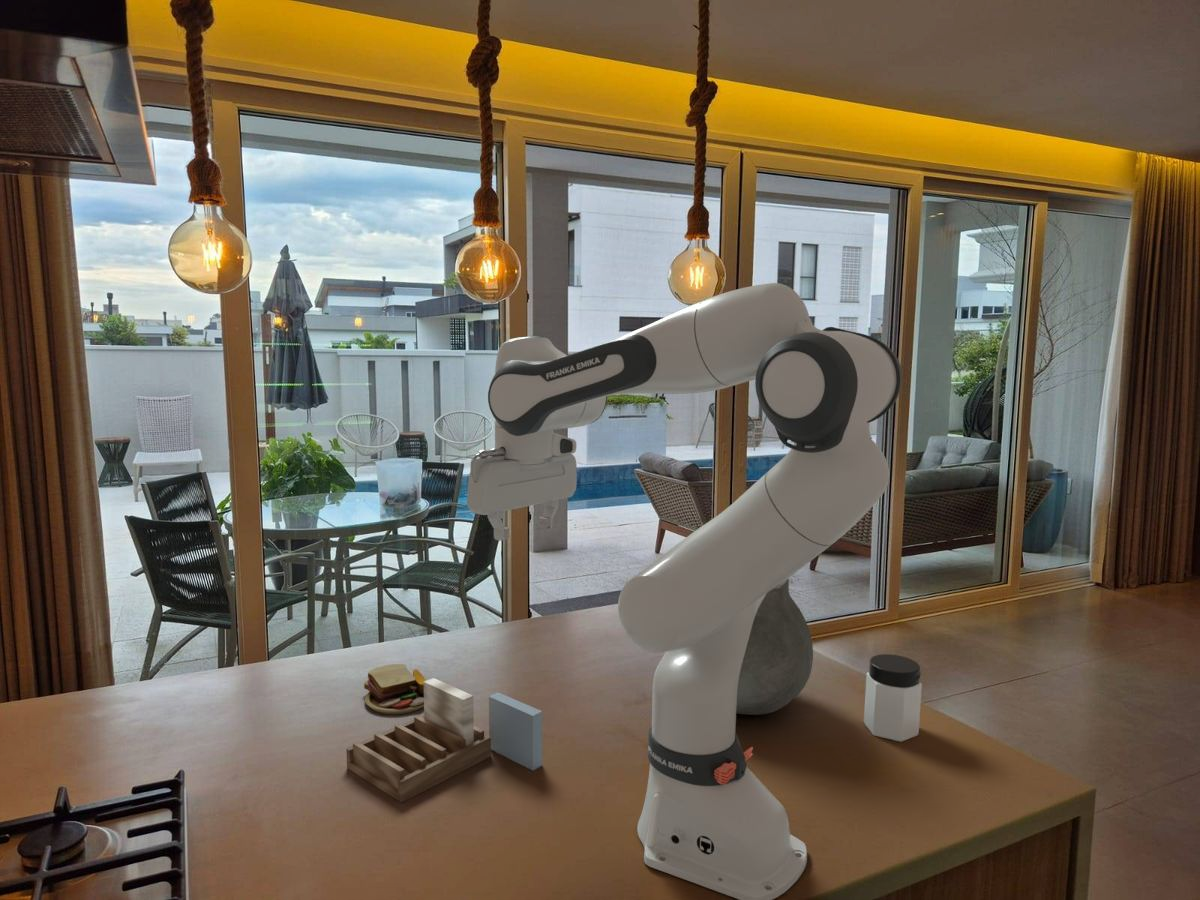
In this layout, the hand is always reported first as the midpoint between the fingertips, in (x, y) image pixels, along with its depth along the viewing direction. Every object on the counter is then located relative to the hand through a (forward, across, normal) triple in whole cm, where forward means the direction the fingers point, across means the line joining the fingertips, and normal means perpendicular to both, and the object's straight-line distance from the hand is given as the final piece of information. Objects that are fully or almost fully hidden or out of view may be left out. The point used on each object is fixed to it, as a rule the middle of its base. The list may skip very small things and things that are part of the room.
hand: (524, 533), depth 121 cm
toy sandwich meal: (+37, -2, +32) cm, 49 cm away
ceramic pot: (+36, +39, -17) cm, 56 cm away
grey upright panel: (+36, -1, +1) cm, 36 cm away
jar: (+36, +48, -41) cm, 73 cm away
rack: (+36, -12, +11) cm, 40 cm away
